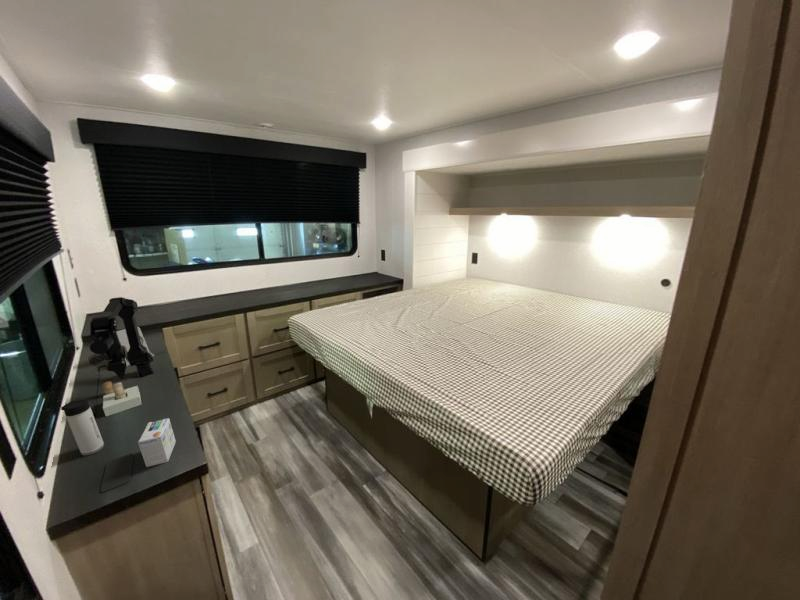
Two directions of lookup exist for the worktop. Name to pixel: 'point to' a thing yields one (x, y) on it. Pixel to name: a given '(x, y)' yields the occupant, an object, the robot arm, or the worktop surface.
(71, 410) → the travel mug
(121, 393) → the long dowel
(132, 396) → the hole block
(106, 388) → the short dowel
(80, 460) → the worktop surface
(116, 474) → the phone
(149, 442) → the light bulb box
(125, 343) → the phone holder
